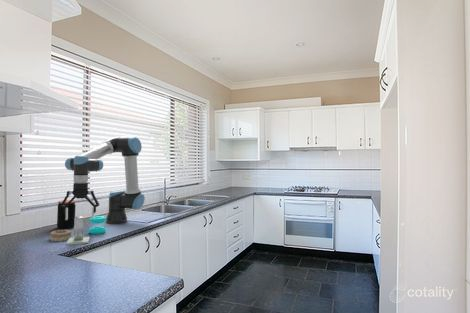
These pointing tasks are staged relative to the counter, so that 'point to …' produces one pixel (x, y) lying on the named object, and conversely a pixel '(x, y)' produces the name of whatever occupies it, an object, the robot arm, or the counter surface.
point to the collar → (60, 235)
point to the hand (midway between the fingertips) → (79, 219)
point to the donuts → (97, 228)
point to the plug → (78, 228)
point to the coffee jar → (61, 217)
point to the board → (84, 241)
